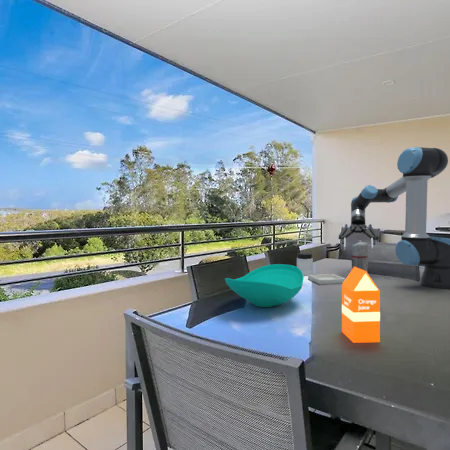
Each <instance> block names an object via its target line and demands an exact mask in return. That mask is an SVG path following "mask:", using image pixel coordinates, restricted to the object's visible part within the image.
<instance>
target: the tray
mask: <svg viewBox="0 0 450 450" xmlns="http://www.w3.org/2000/svg"><path fill="white" fill-rule="evenodd" d="M307 278H308V279H307V280H308V281H311V282H312V283H315V284H316V285H319V286H324V285H325V286H327V285H342V284H343V282H344V281H345V279H346V278H345V277H343V276H339V275H337V274H334V273H323V274H320V273H319V274H313V275H308V276H307Z"/></svg>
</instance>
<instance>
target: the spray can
mask: <svg viewBox="0 0 450 450" xmlns="http://www.w3.org/2000/svg"><path fill="white" fill-rule="evenodd" d="M368 245H369V244H368V242H363V241H361V242H360V241H359V242H356V243H354V244H352V245H351V253H350V254H351V270H352V269H353V268H354V267H357V268H359V269H362V270H364V271H367V274H368V275H369V254H368V253H369V252H368V250H369V248H368V247H369V246H368Z"/></svg>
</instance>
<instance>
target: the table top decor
mask: <svg viewBox="0 0 450 450" xmlns="http://www.w3.org/2000/svg"><path fill="white" fill-rule="evenodd" d="M304 277H305V276H303V273H302V271H301V270H300V269H299V268H298V267H297V265H296V266H295V265H292V264H283V263H282V264H281V263H277V264H276V263H275V264H267V265H262V266H259V267H257V268H255V269H253V270H251V271H250V272H248V273H247V274H245V275H244V276H241V277H239V278H235V279H233V278H229V277H226V278H224V280H225V284H226V285H227V286H228V288H230V290H231V291H233V292H234V293H235V294H237V295H238V296H239V297H241V298H243V299H244V300H246V301H248V302H249V303H251V304H253V305H254V306H256V307H260V308H271V307H276V306H279V305H282V304H284V303H288V302H290V301H291V300H292V299H293V298H294V297H295V296H297V294H299V292H300V291H301V290H302V288H303V285H304Z"/></svg>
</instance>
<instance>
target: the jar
mask: <svg viewBox="0 0 450 450" xmlns="http://www.w3.org/2000/svg"><path fill="white" fill-rule="evenodd" d="M296 256H297V257H296V267H298V268H299V269H300V270H301V271H302V273H303V276H304V277H308V275H314V259H313V253H311V252H298V253H297V255H296Z"/></svg>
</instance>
